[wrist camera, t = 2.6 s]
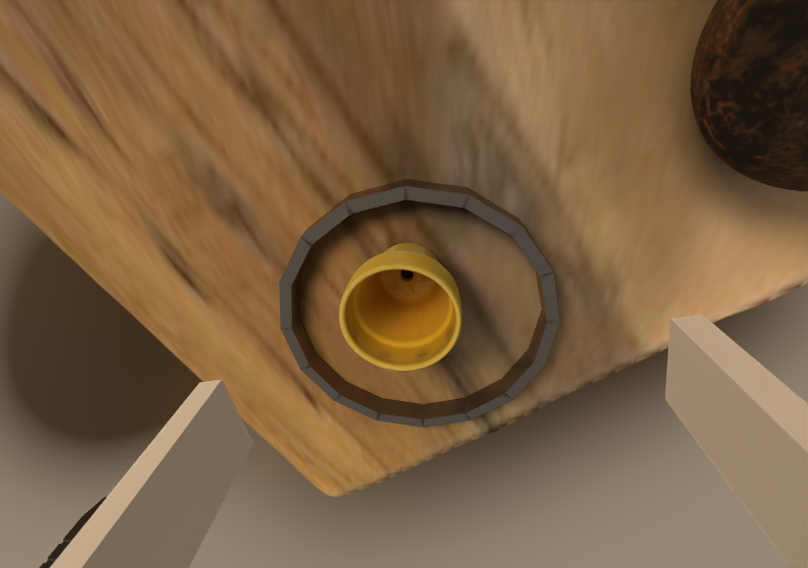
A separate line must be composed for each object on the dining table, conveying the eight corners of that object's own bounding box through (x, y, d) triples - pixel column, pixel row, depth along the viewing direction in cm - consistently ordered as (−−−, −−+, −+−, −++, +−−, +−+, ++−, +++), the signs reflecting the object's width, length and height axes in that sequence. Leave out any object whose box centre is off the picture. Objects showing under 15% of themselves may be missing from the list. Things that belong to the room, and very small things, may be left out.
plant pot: (339, 249, 42) (313, 295, 33) (431, 206, 39) (429, 244, 30) (387, 327, 45) (375, 386, 37) (473, 293, 43) (482, 349, 34)
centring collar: (252, 345, 48) (243, 358, 46) (358, 122, 36) (352, 125, 33) (456, 441, 53) (457, 457, 51) (611, 273, 40) (621, 285, 38)
